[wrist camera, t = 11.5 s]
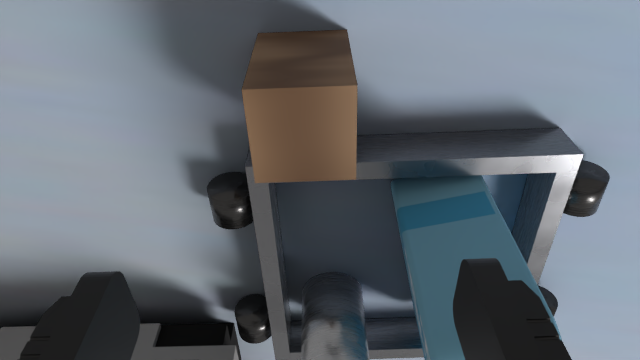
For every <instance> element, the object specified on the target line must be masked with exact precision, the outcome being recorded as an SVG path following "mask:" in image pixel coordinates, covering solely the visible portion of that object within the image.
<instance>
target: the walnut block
mask: <svg viewBox="0 0 640 360" xmlns="http://www.w3.org/2000/svg"><path fill="white" fill-rule="evenodd" d="M242 96H243V103H244V110H245V117H246V124H247V131H248V138H249V145H250V152H251V158H252V165H253V172H254V179H255V183H273V182H301V181H329V180H356V151H357V81H356V75H355V70H354V65H353V59H352V54H351V49H350V43H349V38H348V33H347V30H325V31H300V32H274V33H258V35H257V38H256V42H255V45H254V49H253V52H252V56H251V59H250V62H249V66H248V69H247V73H246V76H245V80H244V83H243V86H242Z"/></svg>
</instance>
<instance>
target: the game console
mask: <svg viewBox="0 0 640 360" xmlns="http://www.w3.org/2000/svg"><path fill="white" fill-rule="evenodd" d="M35 327H36V326H25V327H1V329H0V360H17V359H20V354H21V352H22V350H23V349H24V347H25V345H26V343H27V341H30V336H31V334H32V333H33V331H34V329H35ZM131 360H241V355H240V350H239V345H238V341H237V336H236V331H235V326H234V323H215V324H175V325H160V323H152V324H140V330H139V336H138V339H137V342H136V345H135V348H134V351H133V354H132V357H131Z"/></svg>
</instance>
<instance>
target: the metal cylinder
mask: <svg viewBox="0 0 640 360" xmlns="http://www.w3.org/2000/svg"><path fill="white" fill-rule="evenodd" d="M301 360H369V351H368V342H367V333H366V323H365V314H364V305H363V296H362V288H361V286H360V284H359V282H358V281H357V280H356V279H354V278H353V277H351V276H349V275H347V274H343V273H337V272H329V273H323V274H319V275H317V276H315V277H313V278H311V279H310V280H309V281H308V282H307V283H306V284H305V285H304V288H303V292H302V334H301Z"/></svg>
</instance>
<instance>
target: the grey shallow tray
mask: <svg viewBox="0 0 640 360" xmlns="http://www.w3.org/2000/svg"><path fill="white" fill-rule="evenodd" d="M582 157H583V153H582V152H581V151H580V150H579V149H578V147H577V146H576V145H575V144H574V143H573V142H572V141H571V139H570V138H569V137H568V136H567V135H566V134H565V133H564V131H563V130H562V129H561V128H549V129H523V130H496V131H469V132H443V133H416V134H390V135H363V136H357V151H356V180H364V179H391V178H419V177H446V176H473V175H500V174H528V173H529V174H528V178H527V181H526V185H525V188H524V192H523V196H522V199H521V203H520V206H519V210H518V214H517V217H516V221H515V224H514V228H513V232H512V236H513V238H514V240H515V242H516V244H517V246H518V248H519V250H520V252H521V254H522V256H523V258H524V260H525V262H526V264H527V266H528V268H529V270H530V272H531V274H532V276H533V278H534V280H535V281H536V283H537V285H538V282H539V279H540V276H541V274H542V271H543V268H544V265H545V262H546V259H547V257H548V254H549V251H550V248H551V245H552V242H553V240H554V237H555V234H556V231H557V228H558V225H559V222H560V220H561V217H562V214H563V213H565V214H568V215H571V216H577V217H586V216H590V215H593V214H594V213H595V212H596V211H597V209H598V206H599V204H600V201H601V199H602V196H603V194H604V191H605V189H606V187H607V184H608V182H609V179H610V177H609V174H608V172H607V171H606V170H605V169H603V168H602V167H600V166H599V165H596V164H594V163H591V162H588V161H584V160H582ZM245 169H246V174H244V173H240V172H230V173H225V174H221V175H219V176H217V177H215V178H214V179H212V180H211V181H210V182H209V184H208V186H207V192H208V196H209V201H210V205H211V210H212V214H213V219H214V222H215V223H216V224H217V225H218V226H219V227H222V228H225V229H238V228H242V227H245V226H247V225H249V224H250V223H252V222H253V221H254V226H255V232H256V239H257V245H258V251H259V258H260V264H261V270H262V277H263V283H264V289H265V296H266V297H265V296H263V295H258V294H253V295H249V296H246V297H244V298H242V299H241V300H240V301H239V302H238V303H237V305H236V307H235V317H236V321H237V326H238V330H239V334H240V336H241V338H242V339H243V340H244V341H246V342H248V343H261V342H263V341H265V340H267V339H268V338H269V337H270V336H271V335H272V340H273V346H274V353H275V359H276V360H301V334H302V321H291V317H290V308H289V299H288V291H287V282H286V273H285V265H284V256H283V247H282V239H281V230H280V221H279V212H278V204H277V195H276V186H275V183H282V182H273V183H255V179H254V172H253V165H252V158H251V152H250V146H249V151H248V155H247V160H246V165H245ZM329 181H337V180H329ZM301 182H309V181H301ZM538 287H539V289H540V291H541V293H542V295H543V297H544V299H545V301H546V303H547V305H548V307H549V309H550V311H551V313H552V315H553V317H554V314H555V312H556V310H557V307H558V302H557V299H556V298H555V296H554V295H553V294H552V293H551V292H550V291H548V290H547V289H545V288H543V287H540V286H538ZM365 323H366V333H367V342H368V351H369V359H384V358H415V357H424V353H423V349H422V344H421V339H420V335H419V330H418V326H417V321H416V317H410V318H380V319H365Z"/></svg>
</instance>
